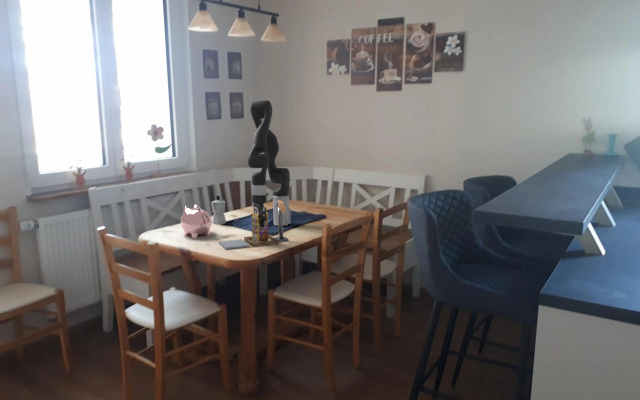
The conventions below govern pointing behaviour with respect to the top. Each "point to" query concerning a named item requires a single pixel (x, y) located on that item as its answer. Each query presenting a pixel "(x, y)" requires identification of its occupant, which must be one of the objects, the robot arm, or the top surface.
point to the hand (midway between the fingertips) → (260, 225)
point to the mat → (233, 244)
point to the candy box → (259, 228)
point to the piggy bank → (196, 221)
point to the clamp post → (280, 227)
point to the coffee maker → (218, 211)
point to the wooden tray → (261, 243)
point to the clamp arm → (281, 206)
